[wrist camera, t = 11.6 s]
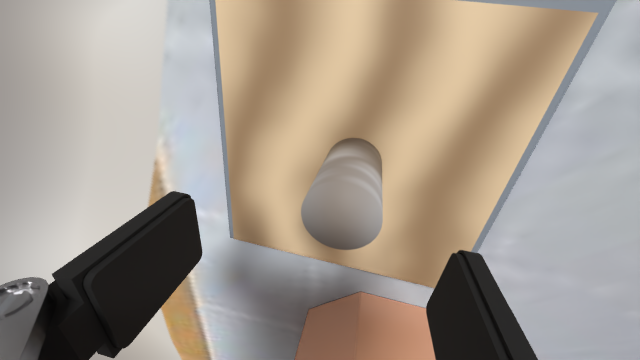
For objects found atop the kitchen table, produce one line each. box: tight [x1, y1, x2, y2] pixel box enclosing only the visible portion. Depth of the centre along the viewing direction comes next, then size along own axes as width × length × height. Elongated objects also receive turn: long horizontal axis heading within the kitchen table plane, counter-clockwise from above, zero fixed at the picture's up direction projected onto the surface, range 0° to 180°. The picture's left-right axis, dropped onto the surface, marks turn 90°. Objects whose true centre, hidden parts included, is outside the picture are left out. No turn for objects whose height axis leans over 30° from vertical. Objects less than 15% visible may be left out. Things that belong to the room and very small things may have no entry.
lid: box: [215, 0, 598, 288], centre depth 14 cm, size 18×18×7 cm
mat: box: [210, 0, 616, 253], centre depth 17 cm, size 20×20×1 cm
